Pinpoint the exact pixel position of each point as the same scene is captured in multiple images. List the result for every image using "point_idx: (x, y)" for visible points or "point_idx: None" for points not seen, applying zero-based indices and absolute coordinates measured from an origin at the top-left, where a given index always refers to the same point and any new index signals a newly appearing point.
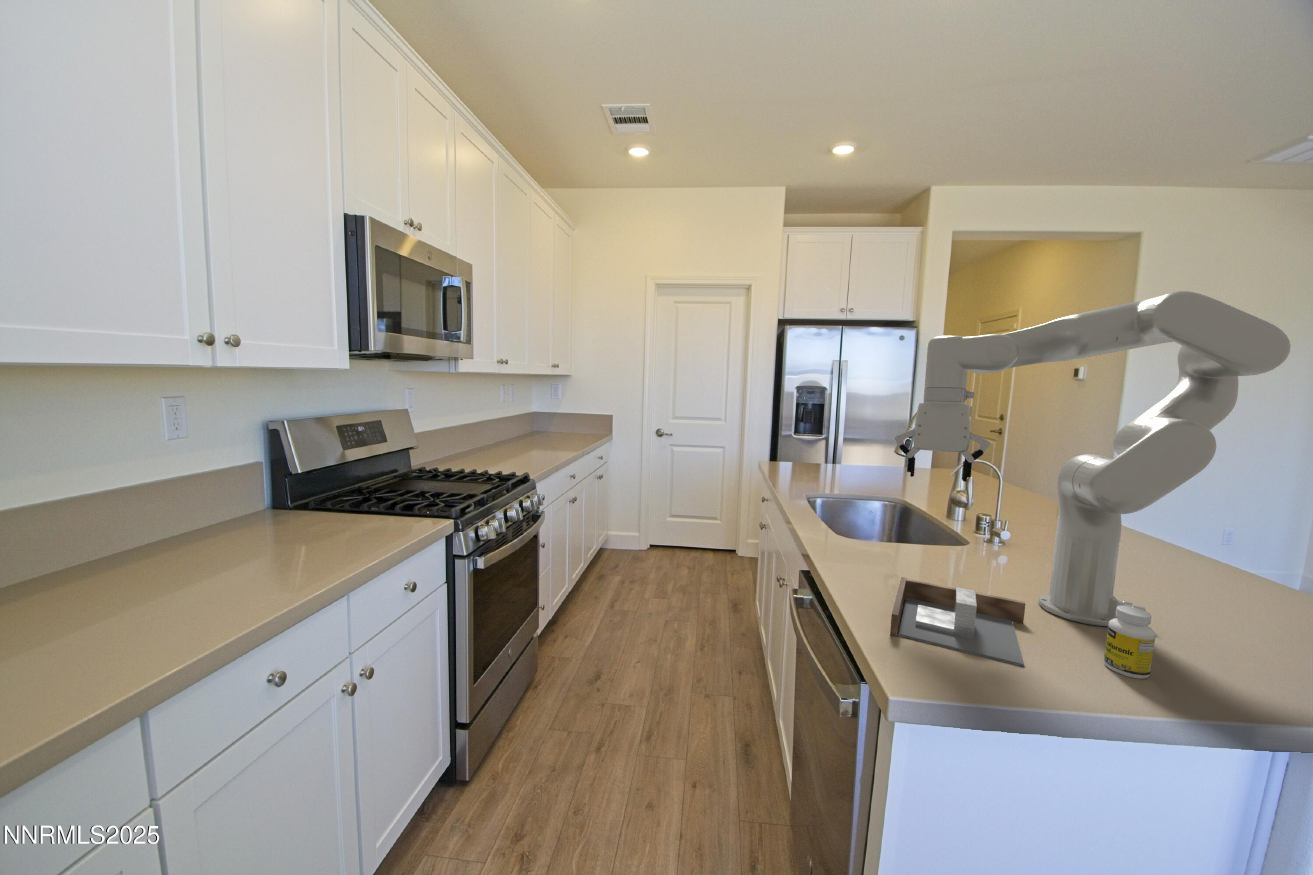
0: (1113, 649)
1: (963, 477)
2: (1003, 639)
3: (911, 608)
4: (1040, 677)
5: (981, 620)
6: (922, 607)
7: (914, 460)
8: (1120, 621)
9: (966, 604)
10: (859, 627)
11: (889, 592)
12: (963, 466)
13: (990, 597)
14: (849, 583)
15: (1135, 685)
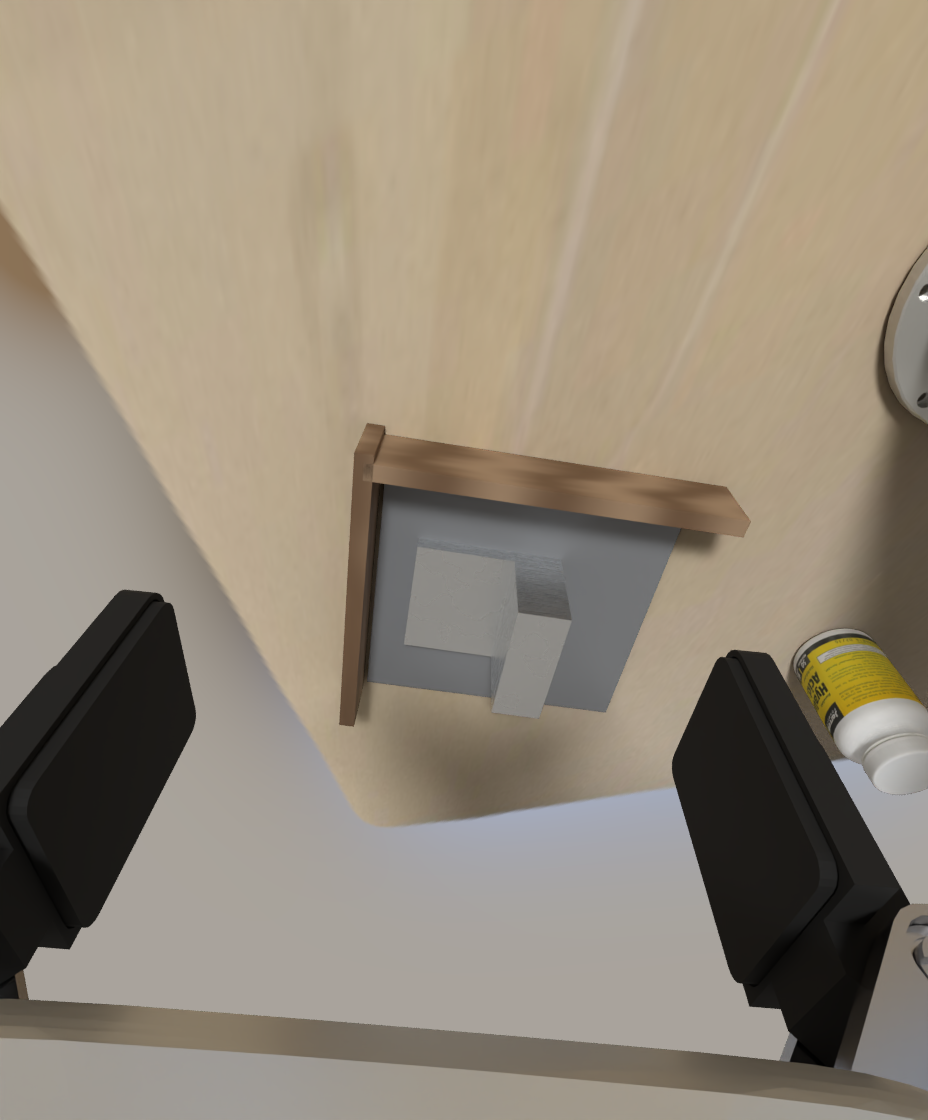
0: (813, 704)
1: (683, 800)
2: (607, 629)
3: (400, 537)
4: (619, 730)
5: (592, 540)
6: (428, 560)
7: (90, 913)
8: (861, 752)
9: (515, 715)
10: (282, 670)
11: (331, 410)
12: (741, 885)
13: (644, 520)
14: (181, 380)
15: (798, 703)
